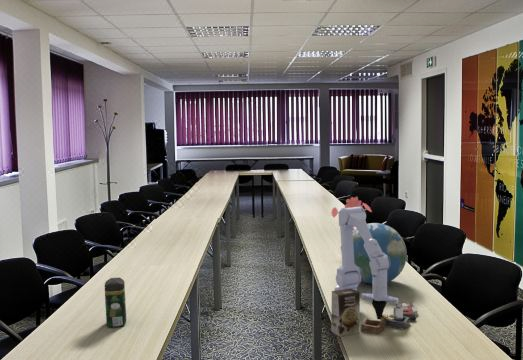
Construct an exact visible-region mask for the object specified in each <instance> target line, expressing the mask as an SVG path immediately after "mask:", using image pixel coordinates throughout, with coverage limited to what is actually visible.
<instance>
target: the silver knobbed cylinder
mask: <svg viewBox="0 0 523 360" xmlns="http://www.w3.org/2000/svg"><path fill="white" fill-rule="evenodd" d="M393 315H394V321H401V322H403V307H401V302H400V303H399V302H398V304H395V306H393Z"/></svg>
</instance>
